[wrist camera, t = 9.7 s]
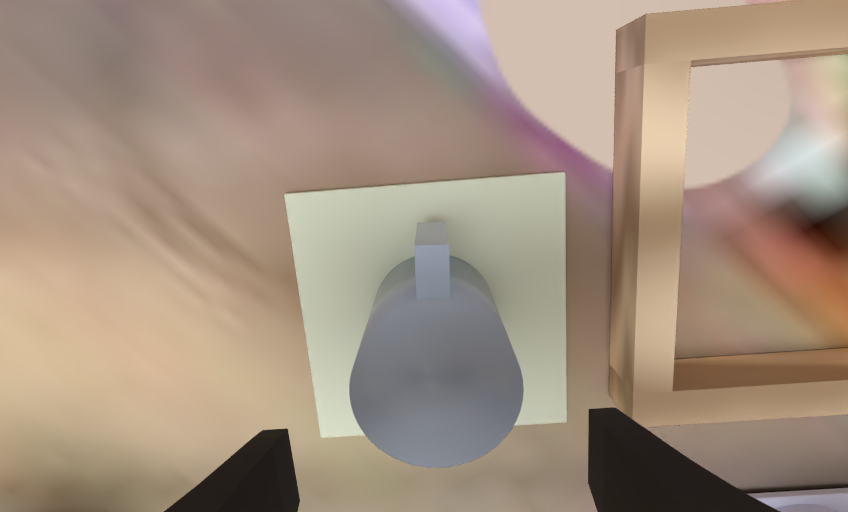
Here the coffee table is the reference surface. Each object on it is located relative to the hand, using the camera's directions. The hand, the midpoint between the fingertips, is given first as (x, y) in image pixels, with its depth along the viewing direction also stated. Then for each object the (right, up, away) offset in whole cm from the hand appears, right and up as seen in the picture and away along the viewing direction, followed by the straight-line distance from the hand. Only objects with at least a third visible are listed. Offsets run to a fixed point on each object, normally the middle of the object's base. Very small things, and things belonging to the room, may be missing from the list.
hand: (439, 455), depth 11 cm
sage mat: (0, +2, +9) cm, 9 cm away
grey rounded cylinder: (0, +2, +9) cm, 9 cm away
